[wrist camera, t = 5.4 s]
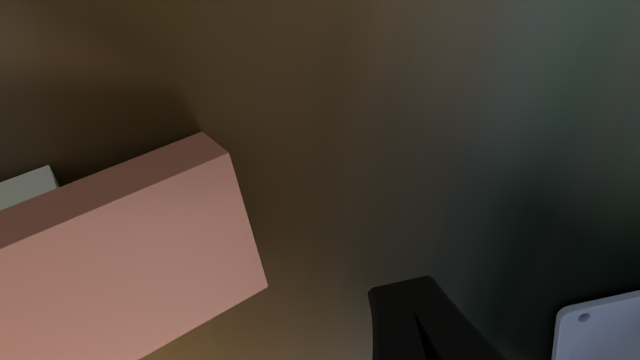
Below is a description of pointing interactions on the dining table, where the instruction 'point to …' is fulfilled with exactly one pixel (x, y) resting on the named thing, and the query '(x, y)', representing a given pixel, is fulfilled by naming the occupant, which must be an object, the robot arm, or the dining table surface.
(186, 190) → the domino
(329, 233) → the dining table surface
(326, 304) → the dining table surface
